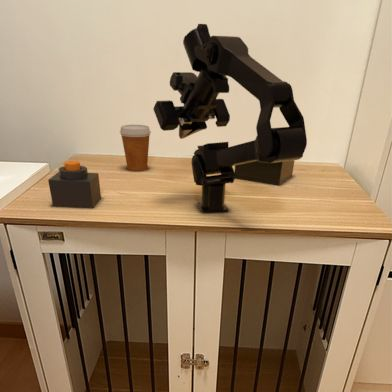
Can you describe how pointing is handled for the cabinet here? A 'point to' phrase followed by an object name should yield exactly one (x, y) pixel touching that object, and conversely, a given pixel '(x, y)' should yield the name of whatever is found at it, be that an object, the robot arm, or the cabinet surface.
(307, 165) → the cabinet surface
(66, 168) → the button
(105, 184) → the cabinet surface
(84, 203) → the control box
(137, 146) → the disposable coffee cup
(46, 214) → the cabinet surface
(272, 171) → the dark brown box
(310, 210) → the cabinet surface
